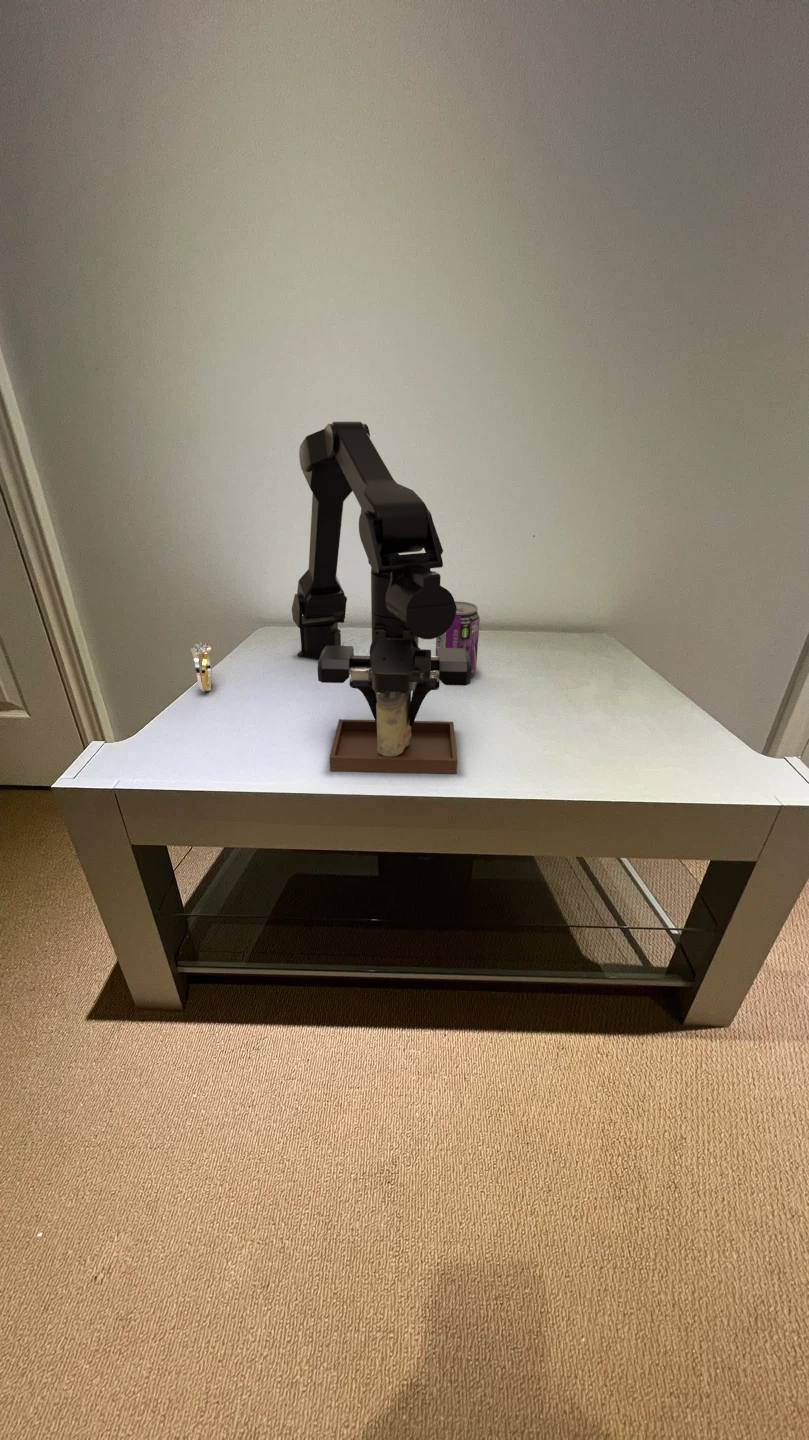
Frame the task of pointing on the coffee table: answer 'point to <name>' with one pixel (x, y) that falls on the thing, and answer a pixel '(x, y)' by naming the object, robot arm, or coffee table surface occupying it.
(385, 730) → the worn yellow canister
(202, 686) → the ring
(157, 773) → the coffee table surface
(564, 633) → the coffee table surface
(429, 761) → the tray
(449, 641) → the beverage can
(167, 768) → the coffee table surface
